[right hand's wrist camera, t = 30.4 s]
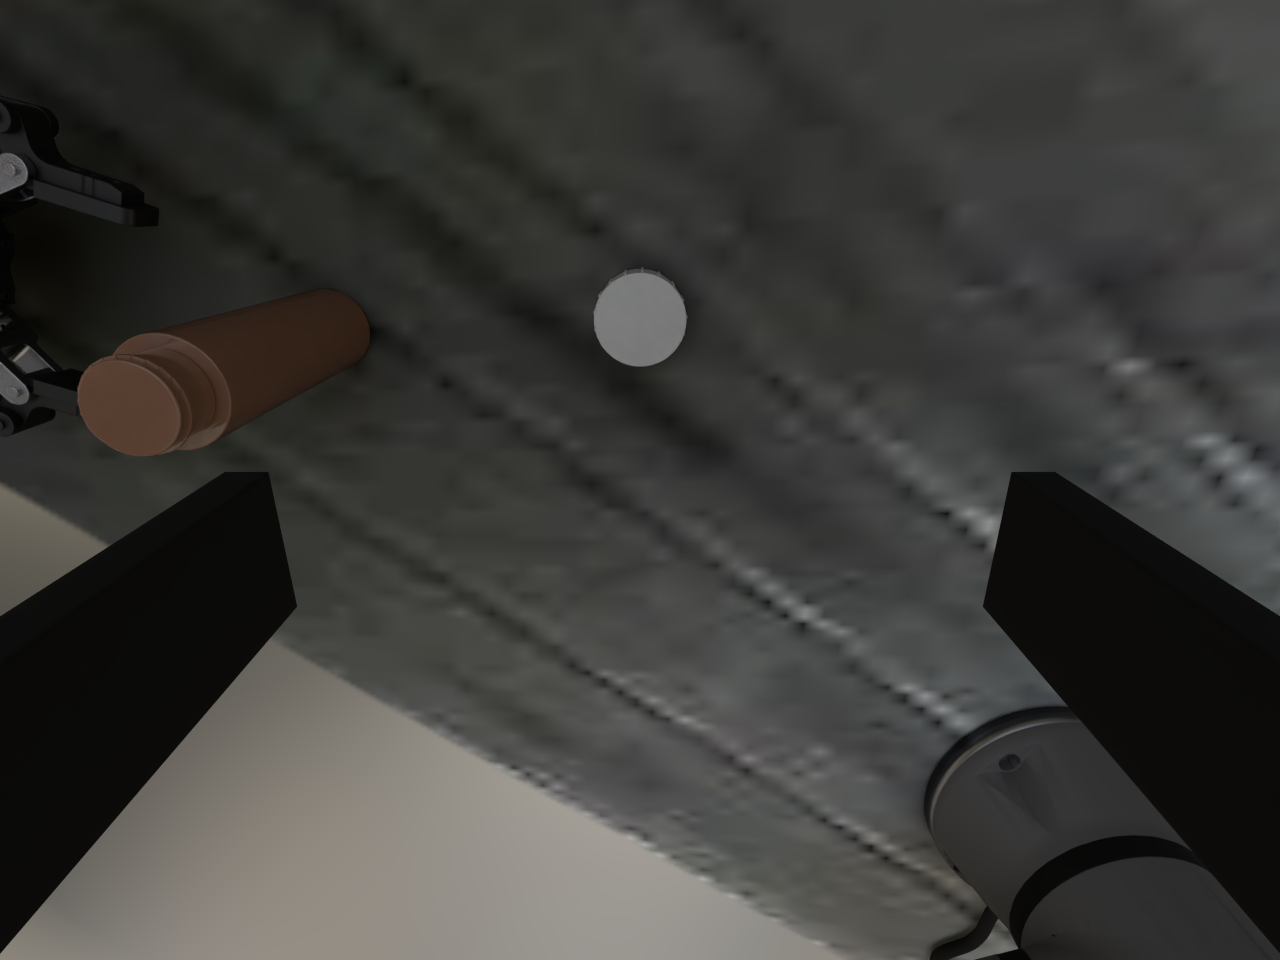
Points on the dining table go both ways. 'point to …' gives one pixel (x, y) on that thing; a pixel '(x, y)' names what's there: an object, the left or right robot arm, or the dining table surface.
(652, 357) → the lid
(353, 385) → the dining table surface
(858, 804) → the dining table surface
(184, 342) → the brown piece
